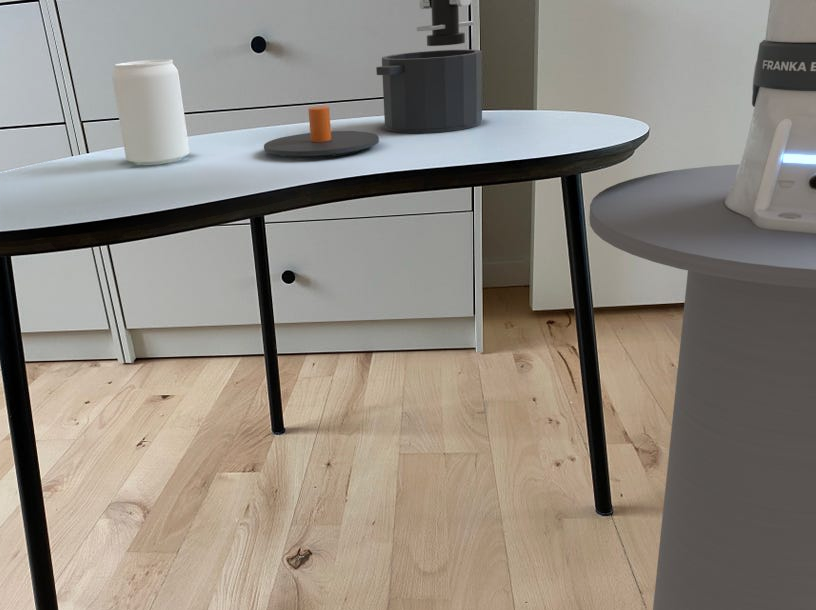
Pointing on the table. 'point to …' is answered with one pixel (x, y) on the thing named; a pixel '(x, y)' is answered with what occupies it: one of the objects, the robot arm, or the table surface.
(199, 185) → the table surface
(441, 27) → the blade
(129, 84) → the beverage can
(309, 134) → the lid
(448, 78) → the pot
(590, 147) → the table surface
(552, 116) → the table surface
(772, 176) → the robot arm
